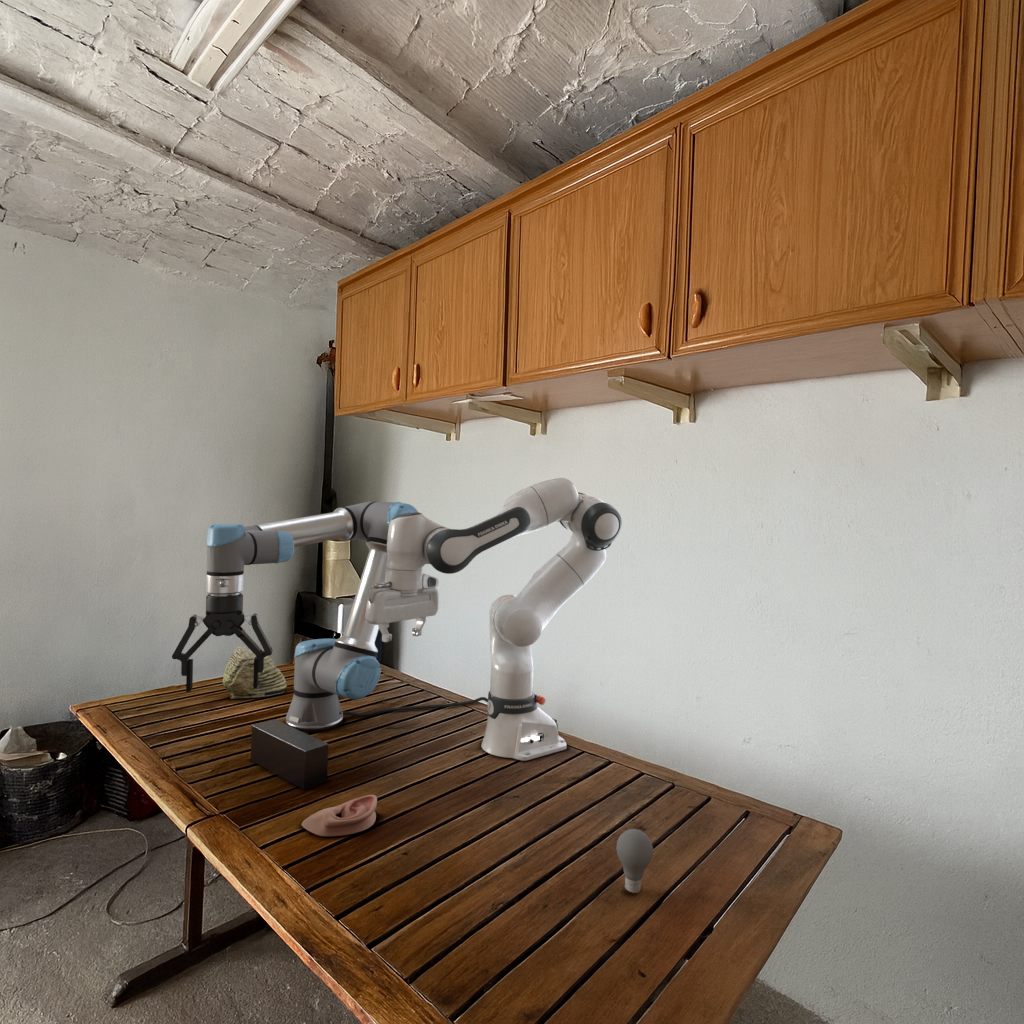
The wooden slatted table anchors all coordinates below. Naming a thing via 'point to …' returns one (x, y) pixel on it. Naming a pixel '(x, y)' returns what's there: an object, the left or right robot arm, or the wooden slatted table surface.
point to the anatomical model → (343, 817)
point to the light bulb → (634, 857)
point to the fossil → (251, 676)
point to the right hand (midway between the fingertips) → (402, 638)
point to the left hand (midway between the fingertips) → (223, 688)
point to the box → (289, 753)
